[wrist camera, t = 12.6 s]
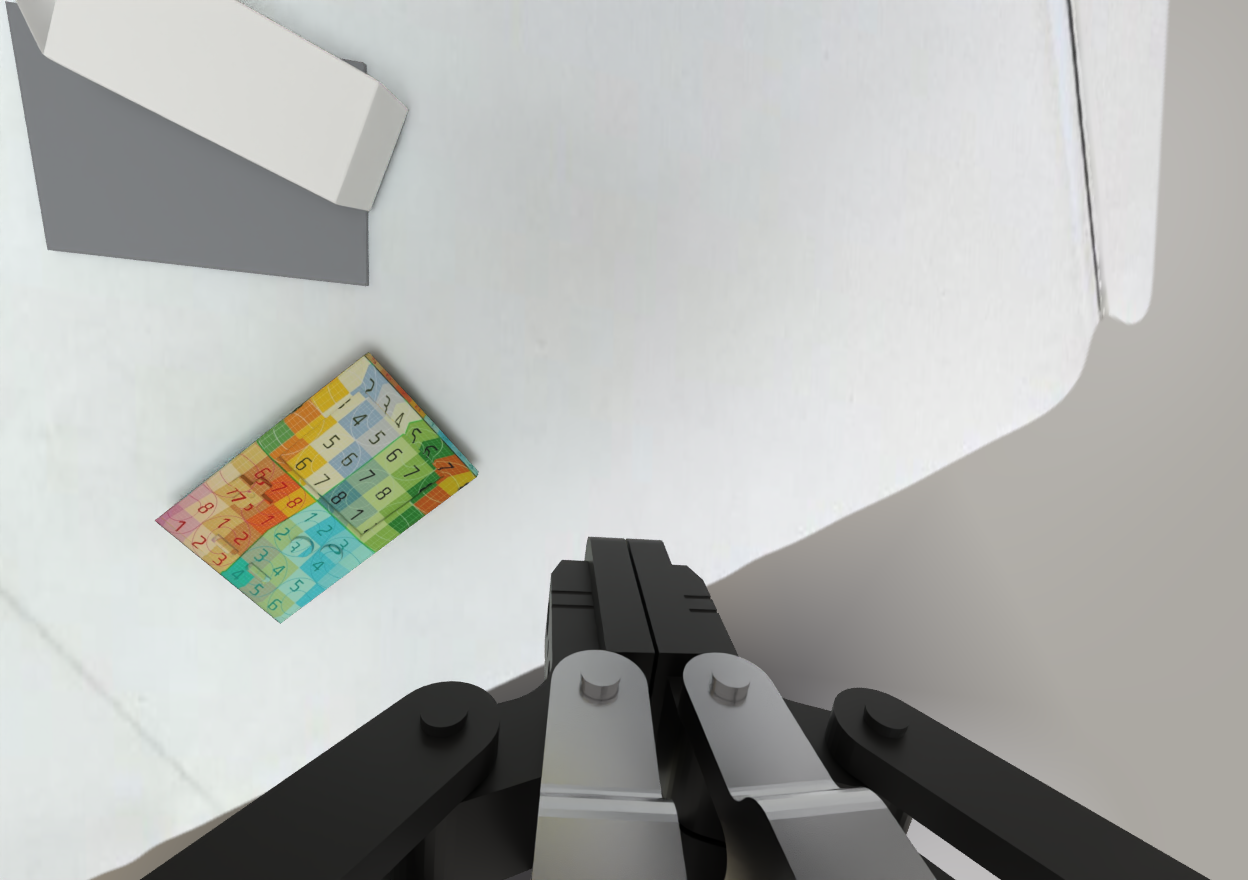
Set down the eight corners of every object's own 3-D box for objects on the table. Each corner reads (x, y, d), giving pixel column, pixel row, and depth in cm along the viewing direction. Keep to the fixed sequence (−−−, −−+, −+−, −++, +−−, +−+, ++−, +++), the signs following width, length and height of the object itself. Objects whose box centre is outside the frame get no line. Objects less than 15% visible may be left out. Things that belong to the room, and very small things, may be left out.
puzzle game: (146, 526, 41) (360, 357, 39) (185, 499, 45) (379, 345, 44) (275, 631, 45) (475, 481, 43) (299, 596, 49) (482, 459, 47)
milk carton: (411, 111, 38) (93, -69, 33) (383, 82, 32) (-20, -147, 27) (373, 212, 40) (64, 55, 35) (337, 205, 33) (-50, 10, 28)
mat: (14, 5, 35) (5, 1, 34) (366, 65, 38) (363, 62, 37) (54, 249, 39) (47, 249, 38) (368, 285, 42) (366, 285, 41)
